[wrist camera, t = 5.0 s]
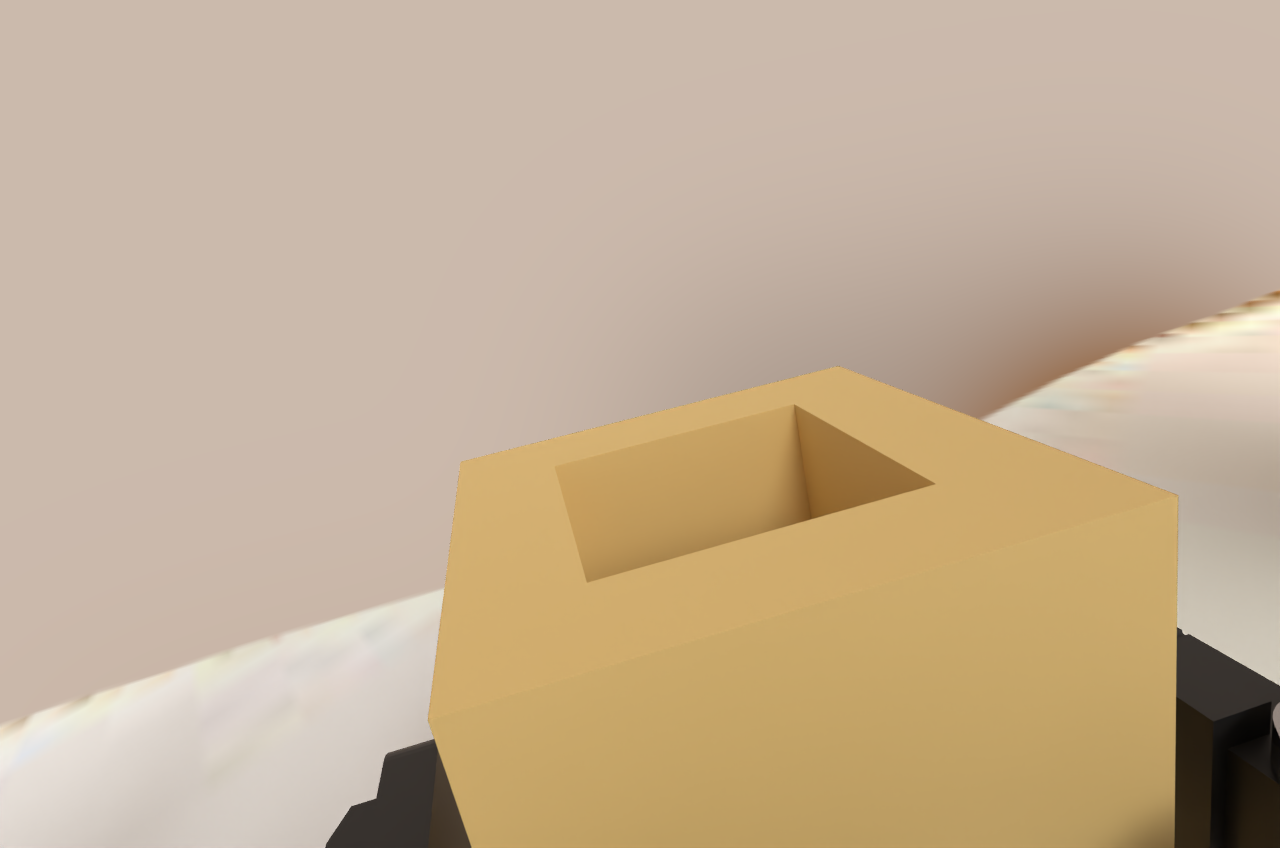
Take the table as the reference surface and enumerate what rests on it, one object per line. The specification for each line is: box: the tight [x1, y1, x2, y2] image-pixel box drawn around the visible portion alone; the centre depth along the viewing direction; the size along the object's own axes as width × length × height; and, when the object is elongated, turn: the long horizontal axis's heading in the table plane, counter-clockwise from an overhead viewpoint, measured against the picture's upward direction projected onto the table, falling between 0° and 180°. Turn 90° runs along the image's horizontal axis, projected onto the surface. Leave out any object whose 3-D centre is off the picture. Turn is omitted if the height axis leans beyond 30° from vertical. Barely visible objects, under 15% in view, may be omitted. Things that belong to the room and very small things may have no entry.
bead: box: [428, 366, 1178, 848], centre depth 10 cm, size 6×6×10 cm
